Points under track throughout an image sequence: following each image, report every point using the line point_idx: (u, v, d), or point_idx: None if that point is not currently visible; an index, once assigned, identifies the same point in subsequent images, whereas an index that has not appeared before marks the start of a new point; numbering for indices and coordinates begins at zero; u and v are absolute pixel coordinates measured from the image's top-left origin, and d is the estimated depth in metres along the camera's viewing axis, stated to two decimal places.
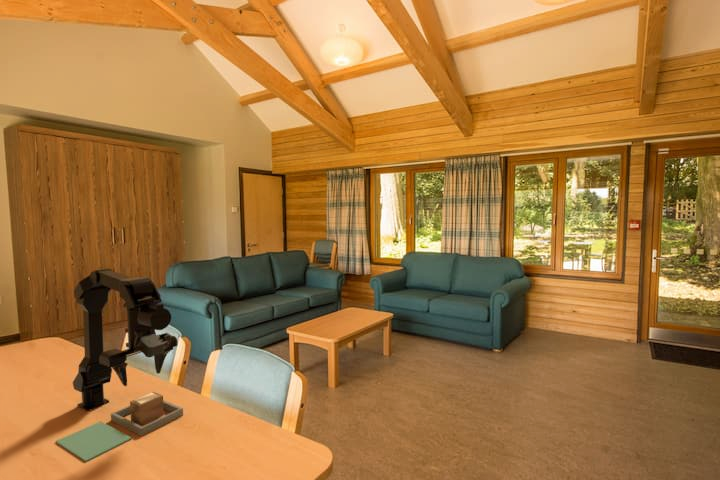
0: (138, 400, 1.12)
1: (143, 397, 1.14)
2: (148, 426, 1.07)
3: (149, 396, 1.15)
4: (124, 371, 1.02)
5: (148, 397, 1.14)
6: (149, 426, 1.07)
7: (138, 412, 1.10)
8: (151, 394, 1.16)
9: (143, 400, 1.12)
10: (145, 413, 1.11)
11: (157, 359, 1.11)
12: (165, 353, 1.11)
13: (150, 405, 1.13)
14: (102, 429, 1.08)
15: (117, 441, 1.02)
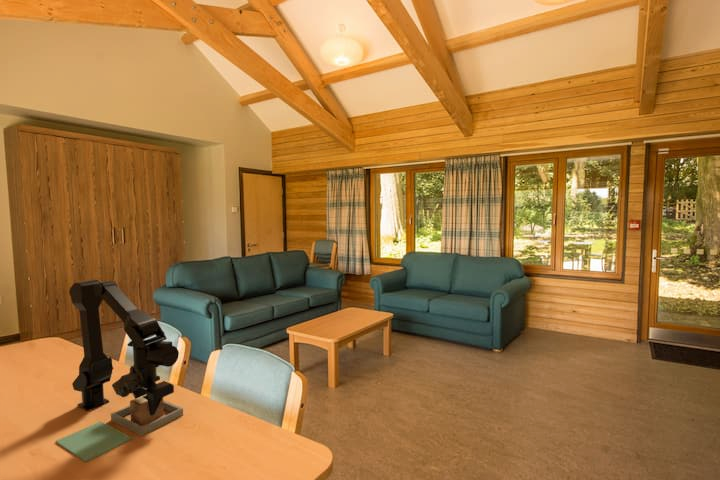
0: (138, 400, 1.12)
1: None
2: (148, 426, 1.07)
3: None
4: (135, 397, 1.15)
5: None
6: (149, 426, 1.07)
7: (138, 412, 1.10)
8: None
9: (143, 400, 1.12)
10: (145, 413, 1.11)
11: None
12: (147, 399, 1.10)
13: None
14: (102, 429, 1.08)
15: (117, 441, 1.02)
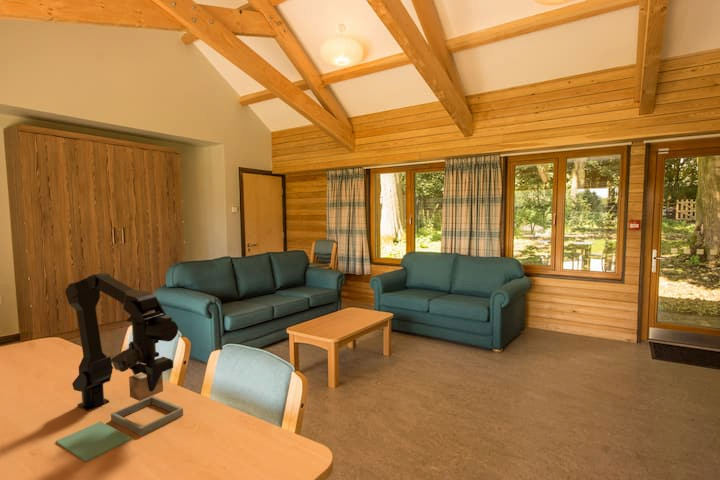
0: (137, 376, 1.12)
1: (142, 373, 1.14)
2: (148, 426, 1.07)
3: None
4: (134, 373, 1.14)
5: None
6: (149, 426, 1.07)
7: (138, 387, 1.10)
8: None
9: (142, 376, 1.12)
10: (144, 388, 1.11)
11: None
12: (146, 374, 1.10)
13: None
14: (102, 429, 1.08)
15: (117, 441, 1.02)
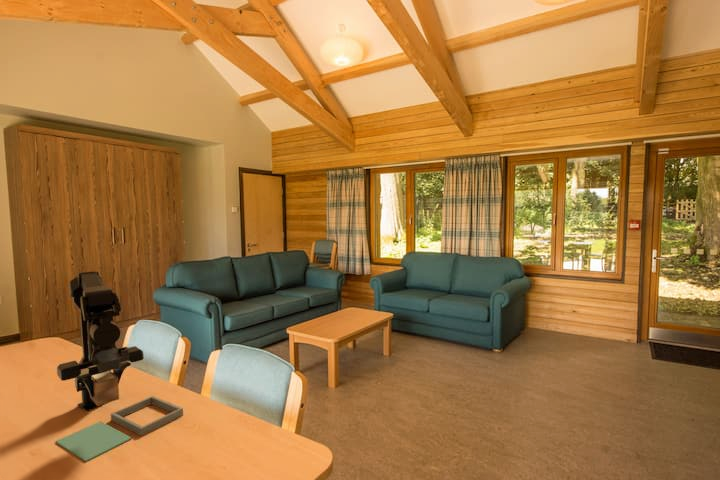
0: (103, 379, 1.02)
1: (98, 378, 1.03)
2: (148, 426, 1.07)
3: (101, 375, 1.05)
4: (89, 382, 1.01)
5: (103, 375, 1.05)
6: (149, 426, 1.07)
7: (116, 386, 1.03)
8: (97, 375, 1.05)
9: (107, 376, 1.04)
10: None
11: None
12: (121, 369, 1.06)
13: None
14: (102, 429, 1.08)
15: (117, 441, 1.02)
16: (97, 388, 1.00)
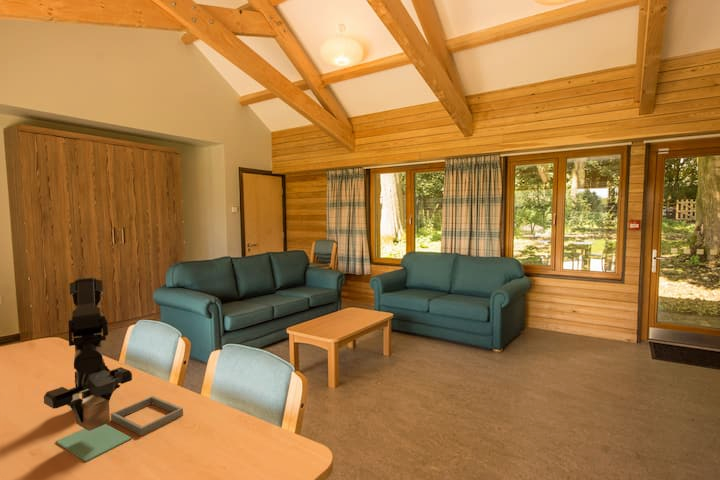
0: (93, 403, 1.01)
1: (87, 402, 1.01)
2: (148, 426, 1.07)
3: (89, 399, 1.03)
4: (79, 407, 0.99)
5: (91, 399, 1.03)
6: (149, 426, 1.07)
7: (106, 409, 1.02)
8: (84, 400, 1.02)
9: (97, 400, 1.02)
10: None
11: None
12: (111, 391, 1.04)
13: None
14: (102, 429, 1.08)
15: (117, 441, 1.02)
16: (89, 413, 0.99)
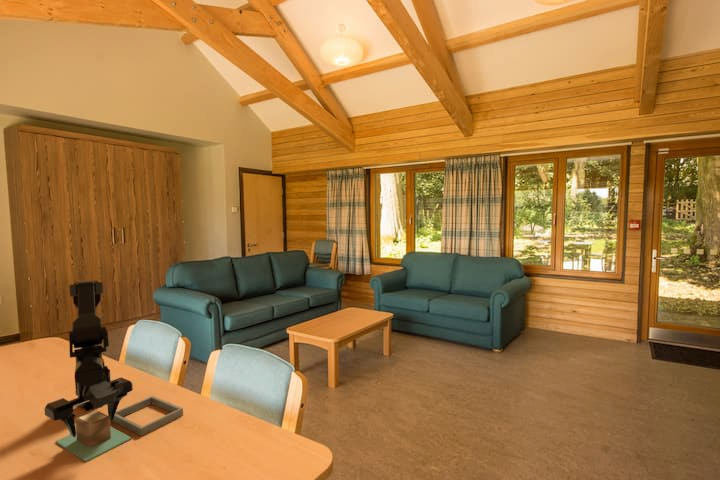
0: (94, 420, 1.01)
1: (88, 419, 1.01)
2: (148, 426, 1.07)
3: (90, 416, 1.03)
4: (72, 422, 0.97)
5: (92, 416, 1.03)
6: (149, 426, 1.07)
7: (107, 425, 1.03)
8: (85, 416, 1.03)
9: (98, 417, 1.02)
10: None
11: (110, 405, 1.07)
12: (118, 399, 1.06)
13: None
14: None
15: (117, 441, 1.02)
16: (90, 430, 0.99)
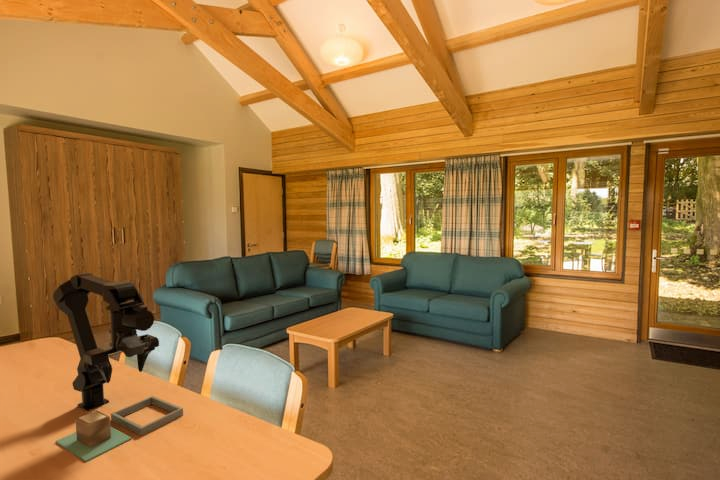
0: (94, 420, 1.01)
1: (88, 419, 1.01)
2: (148, 426, 1.07)
3: (90, 416, 1.03)
4: (106, 369, 1.10)
5: (92, 416, 1.03)
6: (149, 426, 1.07)
7: (107, 425, 1.03)
8: (85, 416, 1.03)
9: (98, 417, 1.02)
10: None
11: (139, 358, 1.19)
12: (147, 353, 1.18)
13: None
14: None
15: (117, 441, 1.02)
16: (90, 430, 0.99)
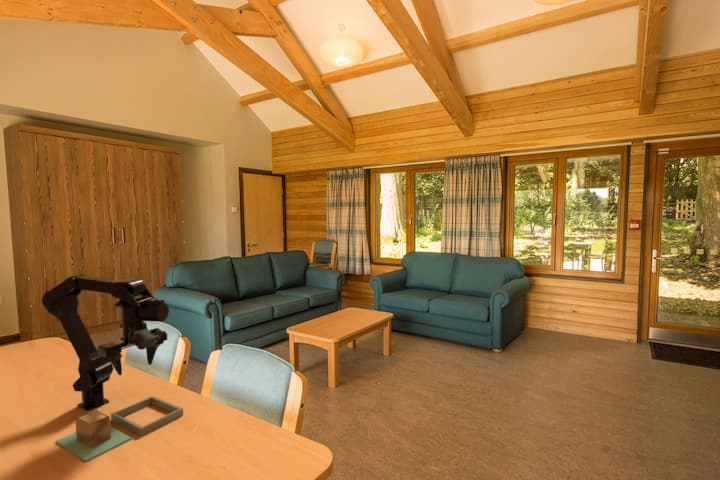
0: (94, 420, 1.01)
1: (88, 419, 1.01)
2: (148, 426, 1.07)
3: (90, 416, 1.03)
4: (119, 362, 1.14)
5: (92, 416, 1.03)
6: (149, 426, 1.07)
7: (107, 425, 1.03)
8: (85, 416, 1.03)
9: (98, 417, 1.02)
10: None
11: (149, 352, 1.24)
12: (156, 346, 1.23)
13: None
14: None
15: (117, 441, 1.02)
16: (90, 430, 0.99)
